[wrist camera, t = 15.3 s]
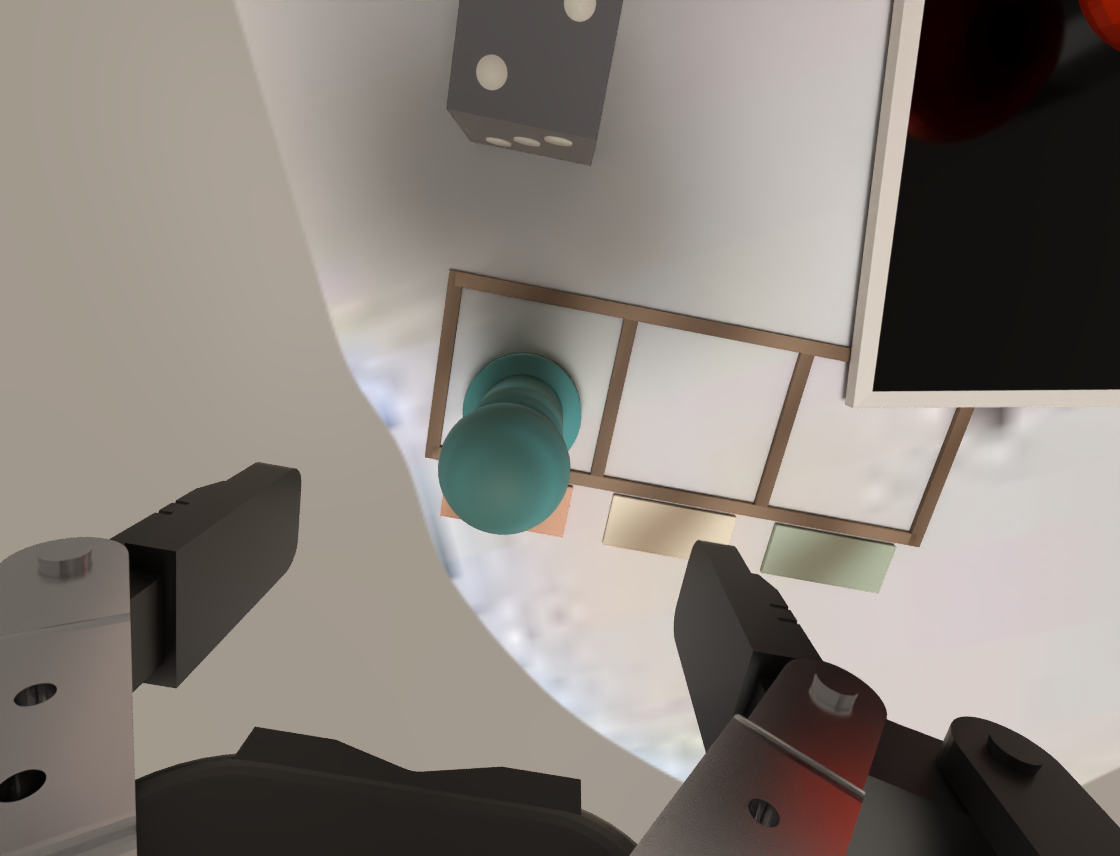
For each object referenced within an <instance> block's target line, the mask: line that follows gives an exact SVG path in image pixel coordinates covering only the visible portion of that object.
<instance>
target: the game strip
mask: <svg viewBox="0 0 1120 856" xmlns="http://www.w3.org/2000/svg"><path fill="white" fill-rule="evenodd" d="M462 287H464V288H469V289H474V290H479V291H485V292H490V293H495V294H500V295H505V296H510V297H516V298H521V299H526V300H531V301H536V302H541V303H546V304H552V305H557V306H562V307H567V308H572V309H577V310H582V311H588V312H593V313H598V314H603V315H608V316H613V317H618V318H624V322H623V326H622V331H621V335H620V340H619V345H618V349H617V354H616V358H615V363H614V368H613V372H612V377H611V382H610V386H609V391H608V395H607V400H606V405H605V409H604V414H603V418H602V423H601V428H600V432H599V437H598V441H597V446H596V451H595V455H594V460H593V464H592V469H591V474H589V473H583V472H578V471H572V470H570V477H569V484H574V485H580V486H585V487H591V488H596V489H602V490H607V491H613V492H618V493H624V494H629V495H635V496H640V497H646V498H651V499H657V500H662V501H668V502H673V503H679V504H684V505H690V506H695V507H701V508H706V509H712V510H717V511H723V512H728V513H734V514H739V515H745V516H750V517H756V518H761V519H767V520H772V521H778V522H783V523H789V524H794V525H800V526H805V527H811V528H816V529H822V530H827V531H833V532H838V533H844V534H849V535H855V536H860V537H866V538H871V539H877V540H882V541H888V542H893V543H899V544H904V545H910V546H915V547H920V544H921V542H922V539H923V537H924V534H925V532H926V529H927V527H928V524H929V522H930V519H931V517H932V514H933V511H934V509H935V506H936V504H937V501H938V499H939V496H940V494H941V491H942V489H943V486H944V484H945V481H946V479H947V476H948V474H949V471H950V469H951V466H952V463H953V461H954V458H955V456H956V453H957V451H958V448H959V446H960V443H961V441H962V438H963V436H964V433H965V431H966V428H967V426H968V423H969V421H970V418H971V415H972V413H973V410H974V408H975V407H958V408H957V411H956V413H955V416H954V418H953V421H952V424H951V426H950V429H949V431H948V434H947V437H946V439H945V442H944V444H943V447H942V449H941V452H940V455H939V457H938V460H937V462H936V465H935V467H934V470H933V473H932V475H931V478H930V480H929V483H928V486H927V488H926V491H925V493H924V496H923V498H922V501H921V504H920V506H919V509H918V511H917V514H916V516H915V519H914V522H913V524H912V527H911V529H910V532H906V531H901V530H895V529H890V528H884V527H879V526H873V525H868V524H862V523H857V522H851V521H846V520H840V519H835V518H829V517H824V516H819V515H813V514H808V513H802V512H797V511H791V510H786V509H780V508H775V507H769V506H768V504H769V501H770V497H771V494H772V491H773V488H774V484H775V481H776V478H777V475H778V472H779V468H780V465H781V462H782V459H783V456H784V452H785V449H786V446H787V443H788V439H789V436H790V433H791V430H792V427H793V423H794V420H795V417H796V414H797V410H798V407H799V404H800V401H801V398H802V394H803V391H804V388H805V385H806V381H807V378H808V375H809V372H810V369H811V365H812V362H813V359H814V356H819V357H824V358H829V359H834V360H840V361H845V362H850V359H851V351H852V349H851V348H846V347H841V346H836V345H831V344H826V343H821V342H816V341H810V340H805V339H800V338H795V337H790V336H785V335H780V334H775V333H770V332H764V331H759V330H754V329H749V328H744V327H739V326H734V325H729V324H724V323H718V322H713V321H708V320H703V319H698V318H693V317H688V316H683V315H677V314H672V313H667V312H662V311H657V310H652V309H647V308H642V307H637V306H631V305H626V304H621V303H616V302H611V301H606V300H601V299H596V298H591V297H585V296H580V295H575V294H570V293H565V292H560V291H555V290H550V289H544V288H539V287H534V286H529V285H524V284H519V283H514V282H509V281H504V280H498V279H493V278H488V277H483V276H478V275H473V274H468V273H463V272H457V271H452V270H450V272H449V279H448V287H447V294H446V302H445V309H444V317H443V324H442V332H441V339H440V347H439V355H438V362H437V370H436V377H435V385H434V392H433V400H432V407H431V415H430V422H429V430H428V437H427V445H426V452H425V457H426V458H431V459H437V460H439V456H440V452H441V448H442V447H441V446H440V443H441V436H442V429H443V422H444V415H445V408H446V401H447V393H448V386H449V379H450V372H451V365H452V358H453V351H454V343H455V336H456V329H457V322H458V315H459V308H460V300H461V293H462ZM638 321H639V322H644V323H649V324H654V325H660V326H665V327H670V328H675V329H680V330H685V331H690V332H696V333H701V334H706V335H711V336H716V337H721V338H726V339H732V340H737V341H742V342H747V343H752V344H757V345H762V346H768V347H773V348H778V349H783V350H788V351H793V352H798V353H799V356H798V360H797V363H796V366H795V370H794V373H793V376H792V379H791V383H790V386H789V389H788V393H787V396H786V399H785V402H784V406H783V409H782V412H781V416H780V419H779V422H778V426H777V429H776V432H775V435H774V439H773V442H772V445H771V449H770V452H769V455H768V459H767V462H766V465H765V468H764V472H763V475H762V478H761V482H760V485H759V488H758V492H757V495H756V498H755V501H754V504H753V503H747V502H742V501H736V500H731V499H726V498H720V497H715V496H709V495H704V494H698V493H693V492H687V491H682V490H676V489H671V488H665V487H660V486H654V485H649V484H643V483H638V482H633V481H627V480H622V479H616V478H611V477H605V476H604V471H605V467H606V462H607V458H608V454H609V449H610V445H611V440H612V436H613V431H614V427H615V422H616V418H617V413H618V409H619V404H620V400H621V395H622V391H623V386H624V382H625V378H626V373H627V369H628V364H629V360H630V355H631V351H632V346H633V342H634V337H635V333H636V328H637V324H638ZM572 490H573V487H572V486H568V487H567V490H566V493H565V495H564V497H563V499H562V501H561V502H560V504H559V506H558V507H557V509H556V510H555V511H554V512H553V513H552V514H551V515H550V516H549V517H548V518H547V519H546V520H545V521H543V522H542V523H540V524H539V525H537V526H535V527H533V528H531V529H529V530H527V531H530V532H535V533H541V534H547V535H552V536H558V537H563V533H564V528H565V523H566V518H567V514H568V509H569V504H570V499H571V494H572ZM440 516H445V517H451V518H457V519H461V518H460V517H458V516H457V515H456V514H455V512H454V511H453V510H452V509H451V507H450V506H449V504H448V503H447V501H446V499H445V497H444V495H443V500H442V507H441V514H440ZM735 521H736V517H735V516H731V515H726V514H720V513H715V512H709V511H704V510H698V509H693V508H687V507H682V506H676V505H671V504H665V503H660V502H654V501H649V500H643V499H638V498H632V497H627V496H621V495H616V494H614V495H613V499H612V504H611V508H610V512H609V517H608V521H607V525H606V530H605V534H604V538H603V545H609V546H614V547H620V548H625V549H631V550H637V551H642V552H648V553H654V554H659V555H665V556H670V557H676V558H682V559H687V560H689V557H690V553H691V550H692V547H693V545H694V543H695V542H696V541H697V540H702V541H708V542H714V543H719V544H725V545H729V541H730V538H731V534H732V531H733V528H734V524H735ZM895 549H896V546H895V545H891V544H886V543H880V542H875V541H869V540H864V539H858V538H853V537H847V536H842V535H836V534H831V533H825V532H820V531H814V530H809V529H803V528H798V527H792V526H786V525H781V524H775V526H774V529H773V532H772V535H771V538H770V542H769V545H768V548H767V551H766V554H765V557H764V560H763V564H762V567H761V570H760V571H761V573H766V574H772V575H777V576H783V577H788V578H794V579H800V580H805V581H811V582H817V583H822V584H828V585H833V586H839V587H845V588H850V589H856V590H862V591H867V592H873V593H879V590H880V588H881V585H882V583H883V580H884V577H885V575H886V572H887V570H888V567H889V564H890V562H891V559H892V557H893V554H894V551H895Z"/></svg>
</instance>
